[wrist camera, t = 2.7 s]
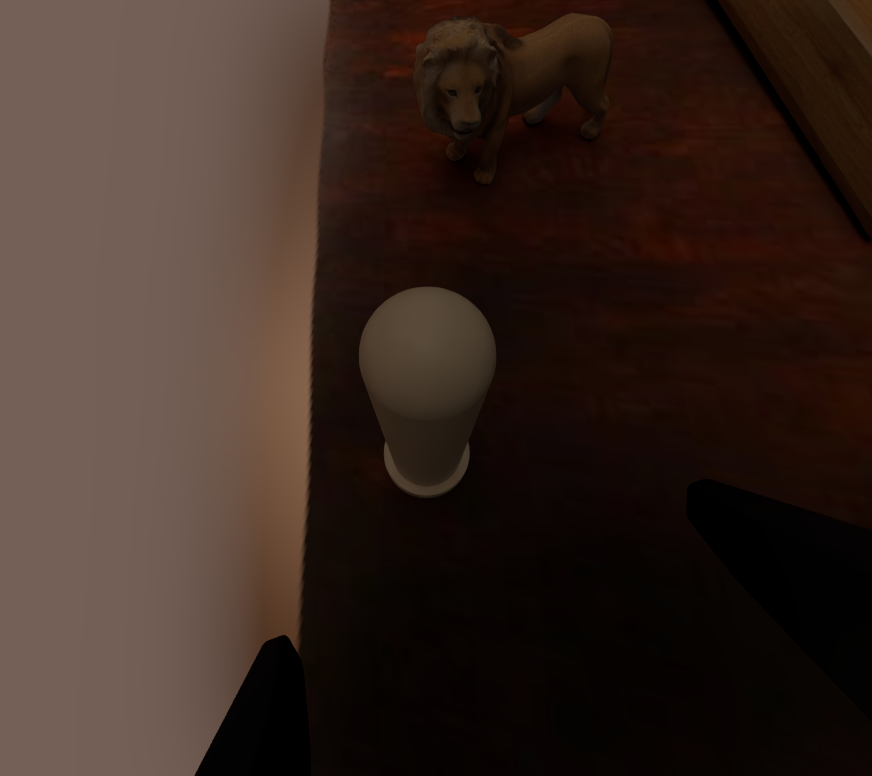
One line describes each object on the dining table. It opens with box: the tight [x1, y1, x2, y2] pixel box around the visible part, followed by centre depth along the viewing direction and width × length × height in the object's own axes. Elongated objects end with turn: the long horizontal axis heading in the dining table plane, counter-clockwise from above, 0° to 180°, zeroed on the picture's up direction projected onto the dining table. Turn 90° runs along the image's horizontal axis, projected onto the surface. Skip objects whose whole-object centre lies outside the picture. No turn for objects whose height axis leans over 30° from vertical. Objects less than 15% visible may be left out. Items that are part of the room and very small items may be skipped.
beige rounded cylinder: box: [359, 287, 496, 498], centre depth 15 cm, size 4×4×13 cm
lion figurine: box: [413, 13, 614, 185], centre depth 24 cm, size 15×5×9 cm, turn 127°
